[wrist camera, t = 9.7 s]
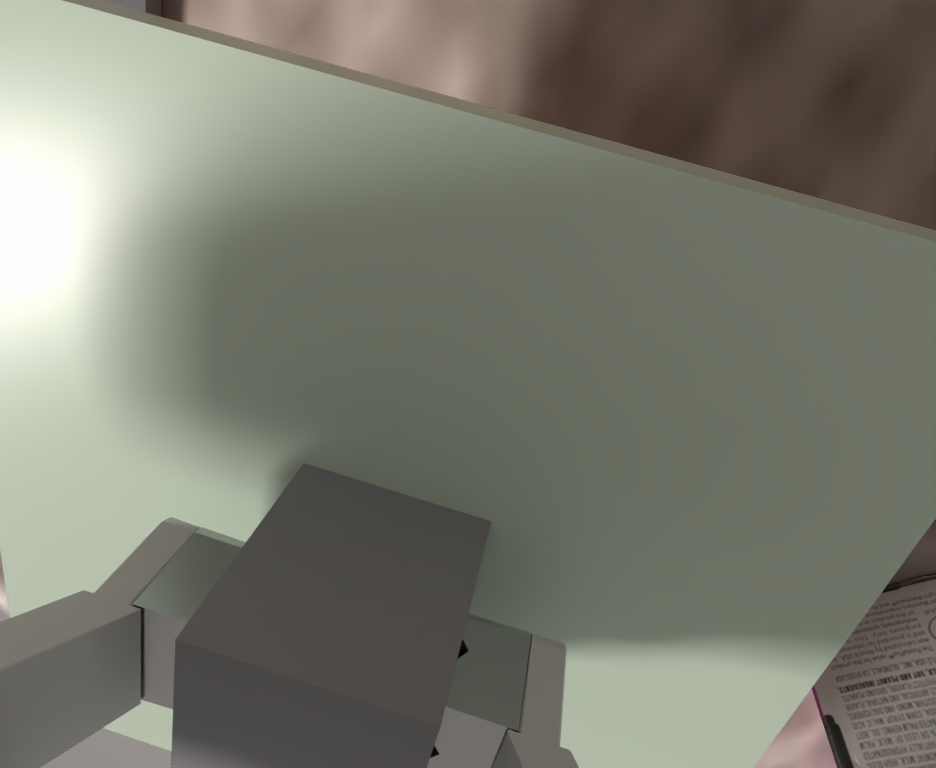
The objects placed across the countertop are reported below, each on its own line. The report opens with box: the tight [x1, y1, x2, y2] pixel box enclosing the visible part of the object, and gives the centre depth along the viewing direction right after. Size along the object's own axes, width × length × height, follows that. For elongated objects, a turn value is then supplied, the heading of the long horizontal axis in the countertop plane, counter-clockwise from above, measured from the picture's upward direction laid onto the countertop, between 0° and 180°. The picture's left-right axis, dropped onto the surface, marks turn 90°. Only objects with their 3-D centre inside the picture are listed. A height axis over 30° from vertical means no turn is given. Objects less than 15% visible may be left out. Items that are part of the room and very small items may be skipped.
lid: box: [0, 0, 936, 768], centre depth 10 cm, size 14×14×4 cm
